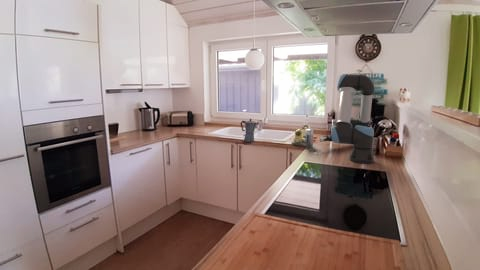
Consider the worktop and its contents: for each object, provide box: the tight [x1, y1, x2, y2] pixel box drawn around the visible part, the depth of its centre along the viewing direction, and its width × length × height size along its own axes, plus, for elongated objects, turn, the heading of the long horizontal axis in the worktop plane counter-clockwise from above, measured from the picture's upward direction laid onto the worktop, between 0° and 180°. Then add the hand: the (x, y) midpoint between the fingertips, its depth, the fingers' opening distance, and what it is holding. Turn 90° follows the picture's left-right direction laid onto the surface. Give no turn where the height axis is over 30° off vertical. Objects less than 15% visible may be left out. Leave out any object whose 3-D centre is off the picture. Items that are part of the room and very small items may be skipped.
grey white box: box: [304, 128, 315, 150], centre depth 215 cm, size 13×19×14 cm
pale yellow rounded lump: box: [291, 128, 306, 147], centre depth 233 cm, size 10×10×13 cm
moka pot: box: [240, 118, 258, 143], centre depth 241 cm, size 10×15×20 cm, turn 78°
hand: (320, 140), depth 211 cm, fingers closed
